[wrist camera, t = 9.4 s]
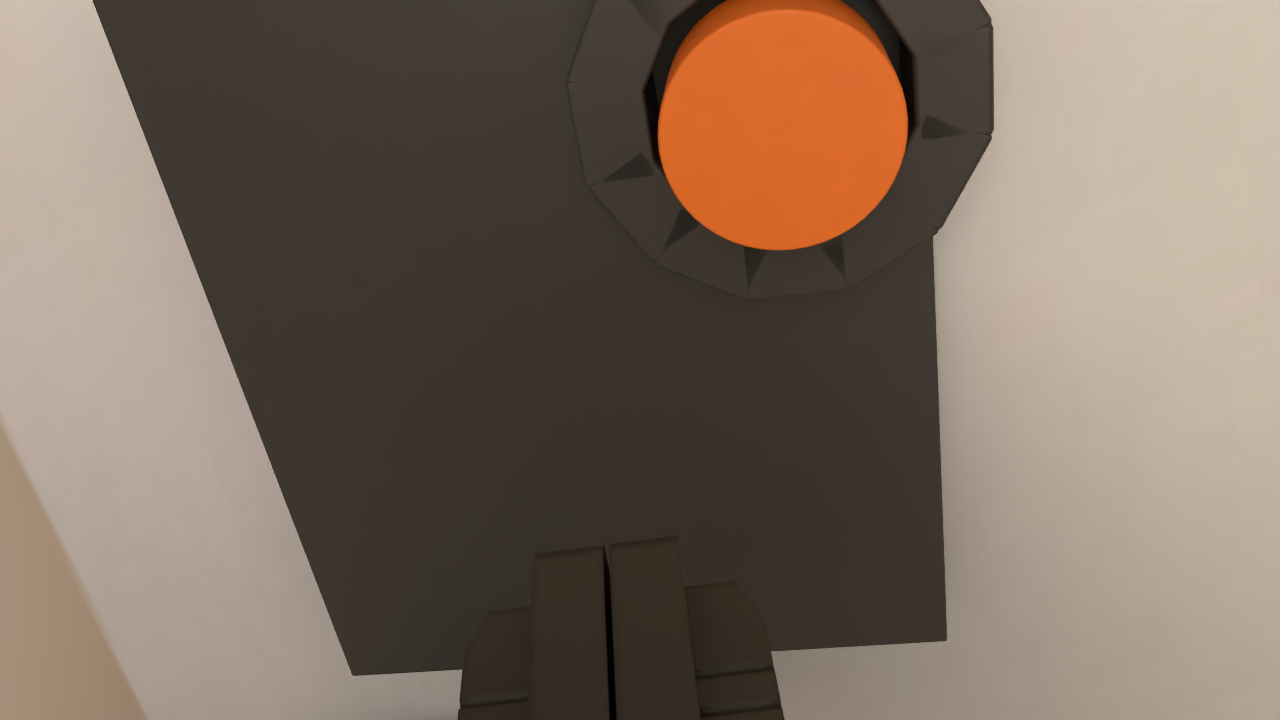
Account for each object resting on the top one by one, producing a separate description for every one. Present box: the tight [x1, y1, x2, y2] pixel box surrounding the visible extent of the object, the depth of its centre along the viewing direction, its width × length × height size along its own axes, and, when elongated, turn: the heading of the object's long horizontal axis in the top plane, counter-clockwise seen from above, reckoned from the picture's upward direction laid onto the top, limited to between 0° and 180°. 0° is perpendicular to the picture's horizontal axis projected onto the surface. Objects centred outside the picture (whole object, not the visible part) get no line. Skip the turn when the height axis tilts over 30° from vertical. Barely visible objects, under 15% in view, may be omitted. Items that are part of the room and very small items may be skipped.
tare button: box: [658, 0, 908, 250], centre depth 17 cm, size 4×4×2 cm
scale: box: [93, 0, 994, 676], centre depth 21 cm, size 15×16×3 cm
